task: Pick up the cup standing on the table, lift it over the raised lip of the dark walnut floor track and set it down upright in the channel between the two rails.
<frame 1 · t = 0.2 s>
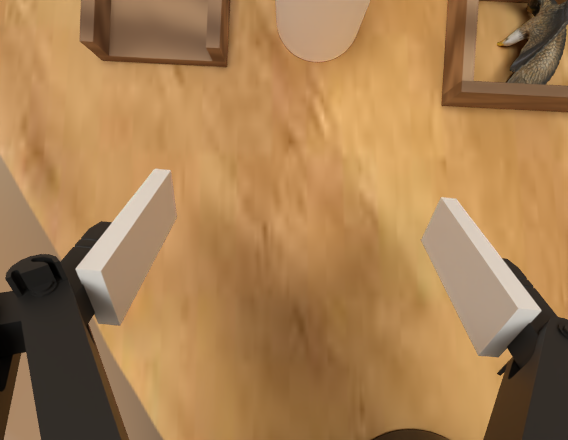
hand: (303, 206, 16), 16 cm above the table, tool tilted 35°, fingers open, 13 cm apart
cup: (317, 21, 31), on the table
figurine frame: (518, 50, 31), on the table
eagle figurine: (516, 51, 31), on the table
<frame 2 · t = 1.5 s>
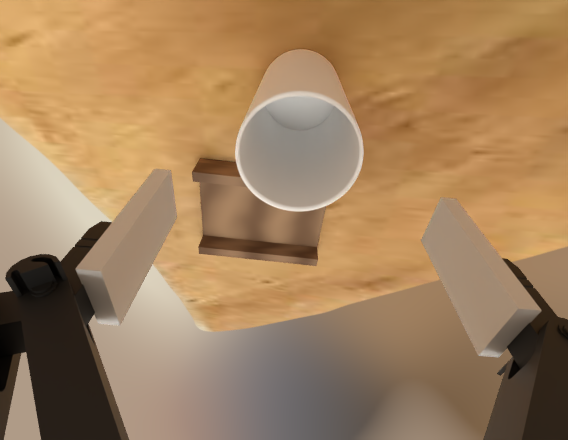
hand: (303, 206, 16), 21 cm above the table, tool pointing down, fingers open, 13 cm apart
cup: (300, 92, 33), on the table
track: (263, 207, 42), on the table
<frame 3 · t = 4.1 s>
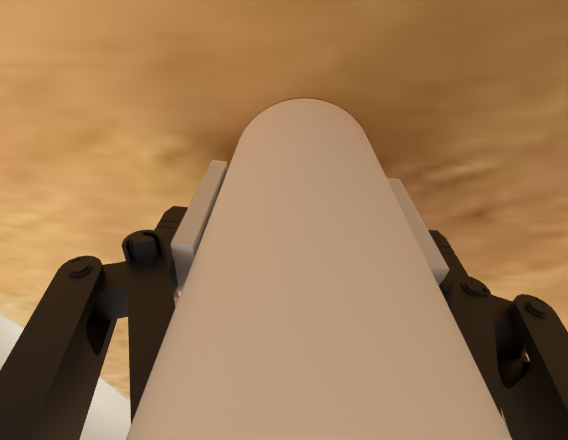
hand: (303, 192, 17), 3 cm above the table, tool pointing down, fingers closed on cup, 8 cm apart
cup: (302, 166, 19), on the table, touching gripper
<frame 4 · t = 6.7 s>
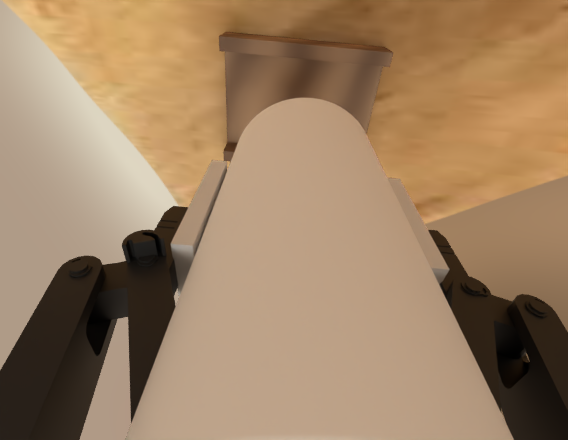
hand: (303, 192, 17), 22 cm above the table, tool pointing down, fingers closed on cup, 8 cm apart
cup: (302, 165, 19), point 19 cm above the table, touching gripper
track: (299, 102, 35), on the table
when the fingers open (5 cm above the table, at t = 9.6 s): cup drops 1 cm, resting on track.
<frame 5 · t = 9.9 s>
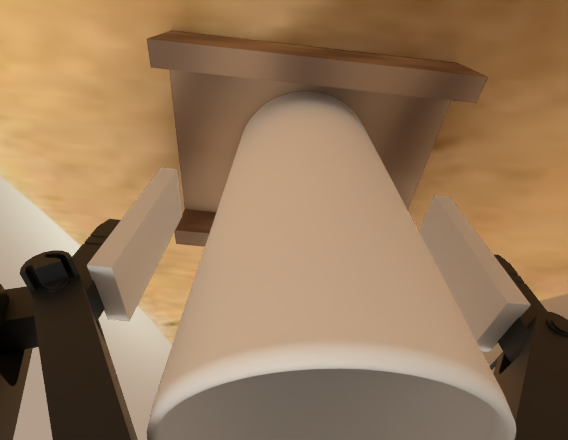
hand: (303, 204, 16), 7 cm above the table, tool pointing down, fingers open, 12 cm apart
cup: (303, 156, 20), point 1 cm above the table, touching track
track: (301, 151, 21), on the table
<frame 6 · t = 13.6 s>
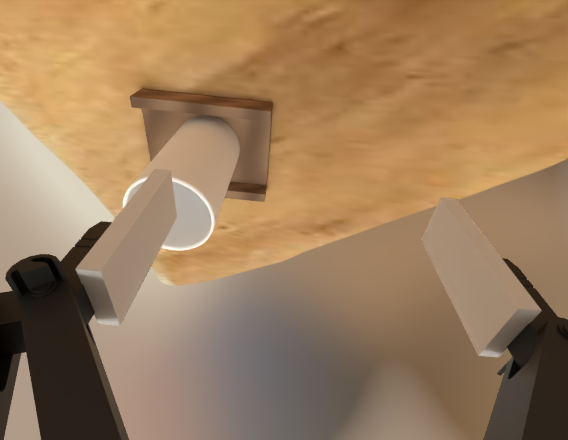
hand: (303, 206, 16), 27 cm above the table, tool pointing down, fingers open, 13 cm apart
cup: (209, 145, 41), point 1 cm above the table, touching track
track: (210, 143, 42), on the table
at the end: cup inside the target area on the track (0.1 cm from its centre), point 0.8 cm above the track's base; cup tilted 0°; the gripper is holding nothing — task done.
